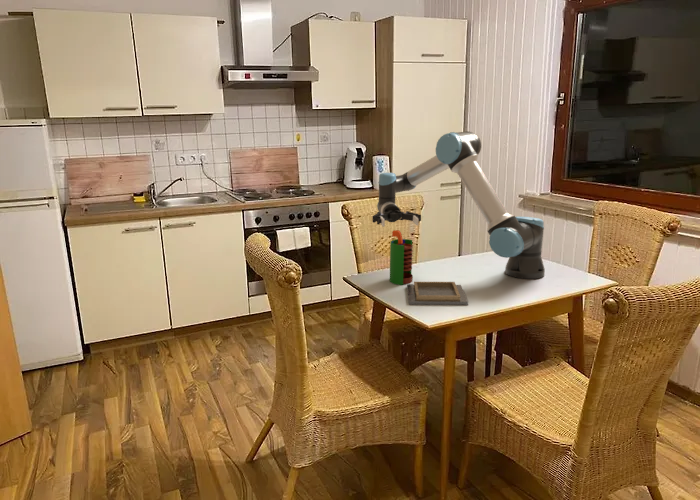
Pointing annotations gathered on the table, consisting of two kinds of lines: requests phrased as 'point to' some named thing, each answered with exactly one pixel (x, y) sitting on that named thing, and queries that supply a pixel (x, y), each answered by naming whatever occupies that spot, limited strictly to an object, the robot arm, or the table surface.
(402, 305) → the table surface
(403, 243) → the green cylindrical holder
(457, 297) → the plate
